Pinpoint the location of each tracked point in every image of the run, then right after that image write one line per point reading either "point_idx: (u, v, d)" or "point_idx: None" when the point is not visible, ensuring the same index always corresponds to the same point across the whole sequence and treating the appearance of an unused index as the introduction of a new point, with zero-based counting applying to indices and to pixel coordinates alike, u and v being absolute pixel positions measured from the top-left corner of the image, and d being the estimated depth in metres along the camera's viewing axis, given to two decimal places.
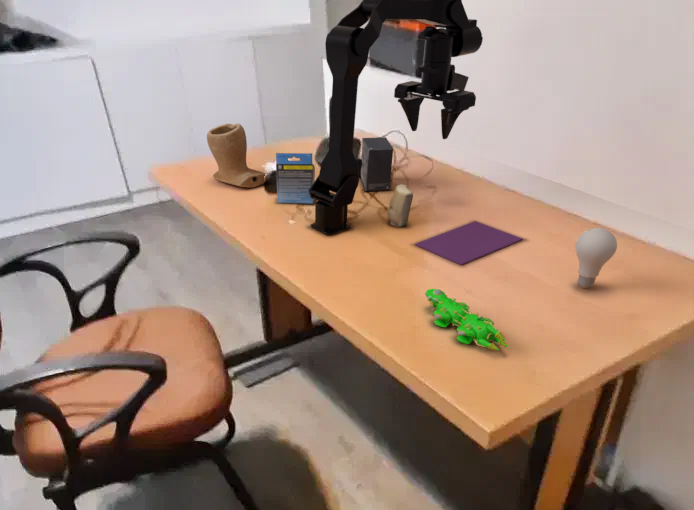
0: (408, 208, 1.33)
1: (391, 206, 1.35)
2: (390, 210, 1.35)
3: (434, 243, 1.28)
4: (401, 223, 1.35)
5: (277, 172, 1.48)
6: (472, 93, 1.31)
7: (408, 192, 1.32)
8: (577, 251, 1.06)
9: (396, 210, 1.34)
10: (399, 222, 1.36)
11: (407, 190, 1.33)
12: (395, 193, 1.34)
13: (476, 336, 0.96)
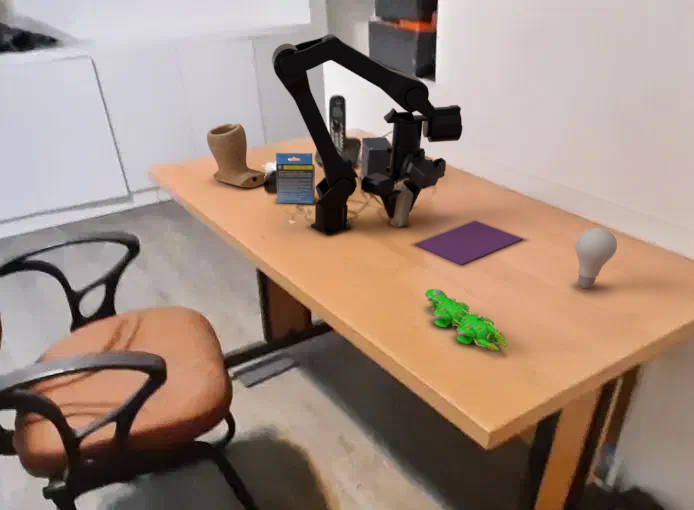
0: (408, 208, 1.33)
1: None
2: None
3: (434, 243, 1.28)
4: (402, 223, 1.35)
5: (277, 172, 1.48)
6: (377, 182, 1.26)
7: (408, 192, 1.32)
8: (577, 251, 1.06)
9: (396, 210, 1.34)
10: (399, 222, 1.36)
11: (407, 190, 1.33)
12: None
13: (476, 336, 0.96)
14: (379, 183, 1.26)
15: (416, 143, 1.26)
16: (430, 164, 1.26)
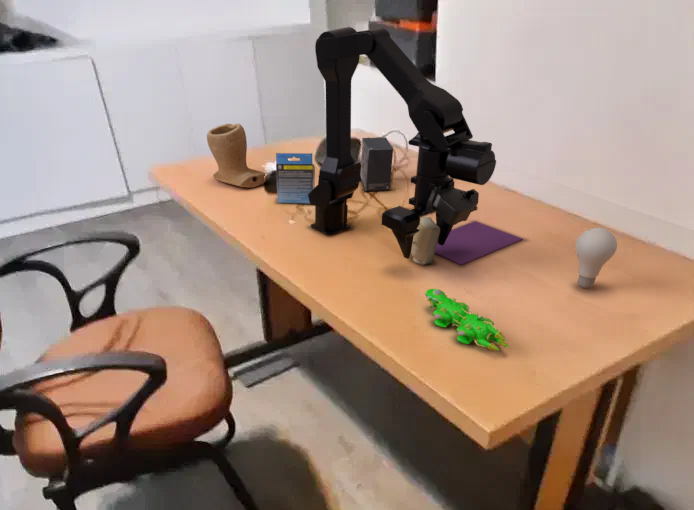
0: (434, 244, 1.18)
1: (415, 241, 1.20)
2: (414, 246, 1.20)
3: None
4: (426, 260, 1.20)
5: (277, 172, 1.48)
6: (401, 217, 1.11)
7: (435, 226, 1.16)
8: (577, 251, 1.06)
9: (421, 246, 1.19)
10: (424, 260, 1.20)
11: (433, 224, 1.17)
12: (419, 227, 1.19)
13: (476, 336, 0.96)
14: (403, 219, 1.11)
15: (431, 174, 1.10)
16: (461, 196, 1.11)
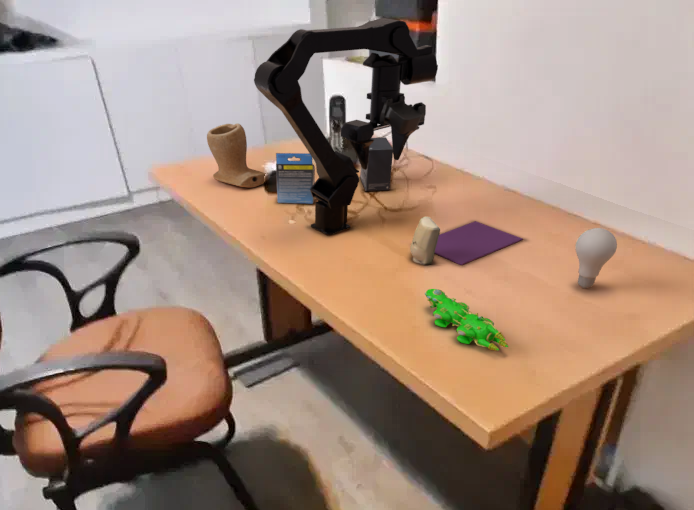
0: (434, 244, 1.18)
1: (415, 241, 1.20)
2: (414, 246, 1.20)
3: None
4: (426, 260, 1.20)
5: (277, 172, 1.48)
6: (356, 127, 1.25)
7: (435, 226, 1.16)
8: (577, 251, 1.06)
9: (421, 246, 1.19)
10: (424, 260, 1.20)
11: (433, 224, 1.17)
12: (419, 227, 1.19)
13: (476, 336, 0.96)
14: (358, 128, 1.24)
15: (399, 86, 1.25)
16: (410, 108, 1.25)
